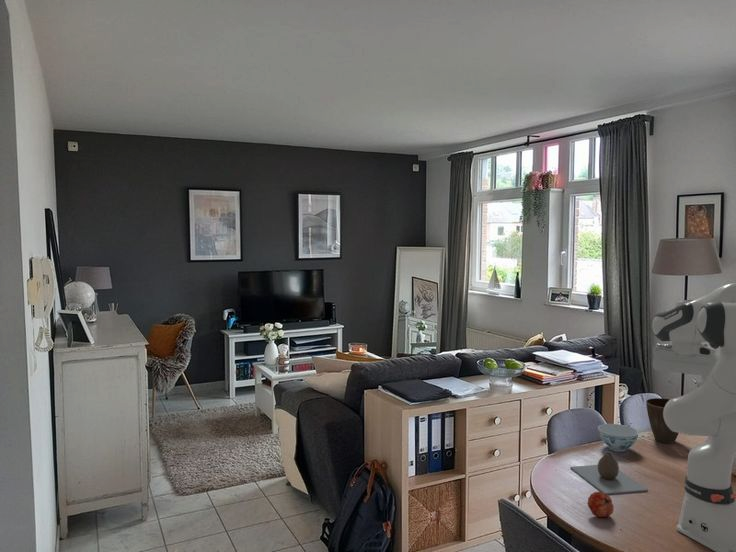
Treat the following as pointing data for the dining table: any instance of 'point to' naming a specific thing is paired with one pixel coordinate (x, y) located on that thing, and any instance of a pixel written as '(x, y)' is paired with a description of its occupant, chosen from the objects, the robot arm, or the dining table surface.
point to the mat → (609, 481)
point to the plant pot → (659, 421)
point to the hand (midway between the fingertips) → (684, 385)
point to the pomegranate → (600, 504)
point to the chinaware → (618, 436)
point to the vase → (608, 467)
